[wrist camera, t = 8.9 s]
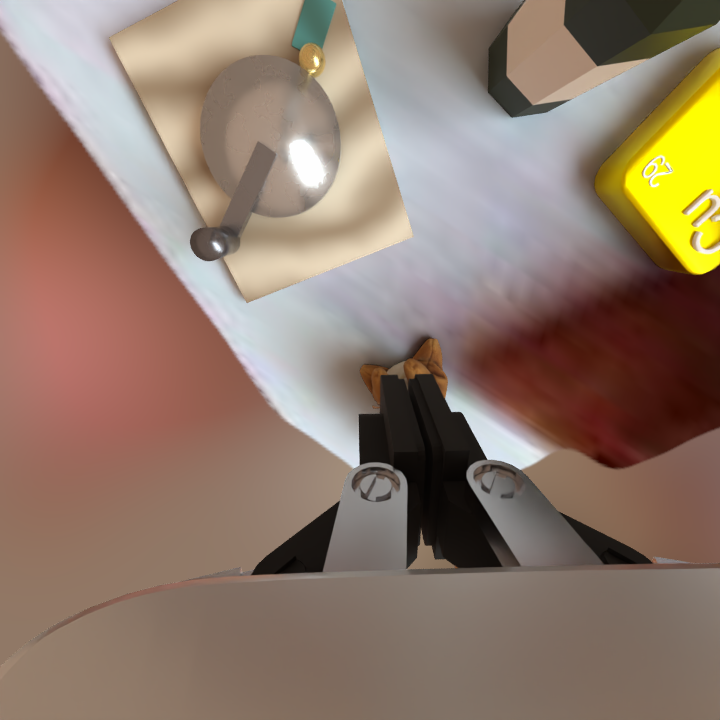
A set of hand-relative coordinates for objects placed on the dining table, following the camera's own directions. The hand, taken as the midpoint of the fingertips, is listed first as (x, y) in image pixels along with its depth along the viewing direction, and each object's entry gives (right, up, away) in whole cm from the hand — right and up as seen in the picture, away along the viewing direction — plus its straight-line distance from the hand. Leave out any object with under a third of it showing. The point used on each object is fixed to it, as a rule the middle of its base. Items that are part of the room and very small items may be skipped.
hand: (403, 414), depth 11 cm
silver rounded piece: (-10, +20, +21) cm, 31 cm away
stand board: (-9, +22, +22) cm, 33 cm away
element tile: (+32, +21, +24) cm, 45 cm away
